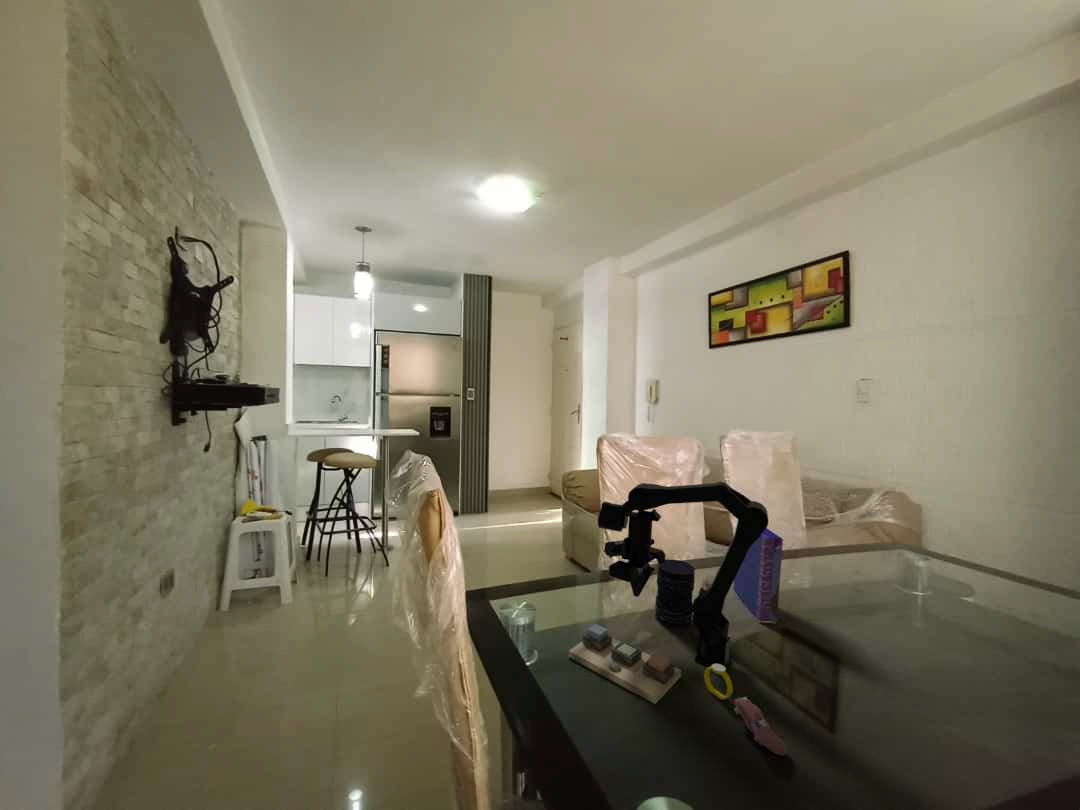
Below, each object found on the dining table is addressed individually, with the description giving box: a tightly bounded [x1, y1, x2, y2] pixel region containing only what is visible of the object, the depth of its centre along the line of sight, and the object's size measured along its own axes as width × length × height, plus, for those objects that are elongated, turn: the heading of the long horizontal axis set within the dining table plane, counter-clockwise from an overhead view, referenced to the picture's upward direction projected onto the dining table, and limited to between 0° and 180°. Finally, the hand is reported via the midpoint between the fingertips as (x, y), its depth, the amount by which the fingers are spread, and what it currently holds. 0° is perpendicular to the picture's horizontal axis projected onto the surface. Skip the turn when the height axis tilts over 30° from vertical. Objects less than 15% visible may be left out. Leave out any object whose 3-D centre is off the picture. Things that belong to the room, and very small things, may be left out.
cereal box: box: [733, 527, 784, 623], centre depth 133 cm, size 17×5×24 cm, turn 179°
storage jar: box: [654, 559, 696, 630], centre depth 124 cm, size 10×10×15 cm
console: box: [568, 631, 682, 705], centre depth 103 cm, size 22×12×4 cm, turn 49°
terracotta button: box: [648, 651, 671, 673], centre depth 98 cm, size 3×3×2 cm
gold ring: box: [703, 664, 733, 700], centre depth 95 cm, size 6×3×6 cm, turn 32°
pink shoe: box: [733, 695, 788, 756], centre depth 84 cm, size 10×5×7 cm, turn 5°
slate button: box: [587, 623, 609, 642], centre depth 109 cm, size 3×3×2 cm
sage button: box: [616, 643, 637, 657], centre depth 103 cm, size 3×3×2 cm
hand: (636, 596), depth 114 cm, fingers closed
